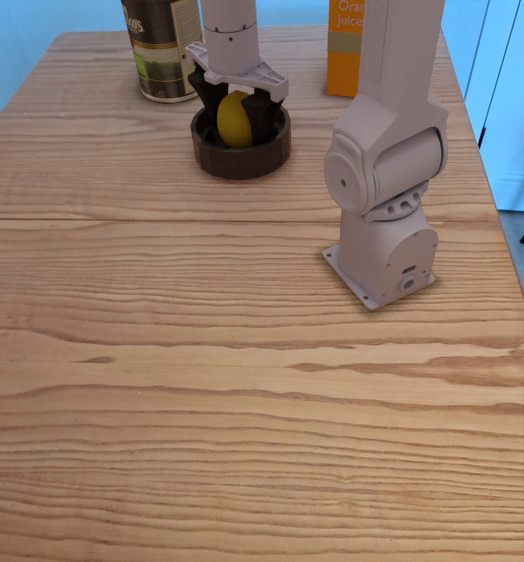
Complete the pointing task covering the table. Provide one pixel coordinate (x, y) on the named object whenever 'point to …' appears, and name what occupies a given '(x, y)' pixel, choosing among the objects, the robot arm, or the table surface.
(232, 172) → the bowl
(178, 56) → the coffee can
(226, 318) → the table surface
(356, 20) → the orange juice
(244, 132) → the lemon
